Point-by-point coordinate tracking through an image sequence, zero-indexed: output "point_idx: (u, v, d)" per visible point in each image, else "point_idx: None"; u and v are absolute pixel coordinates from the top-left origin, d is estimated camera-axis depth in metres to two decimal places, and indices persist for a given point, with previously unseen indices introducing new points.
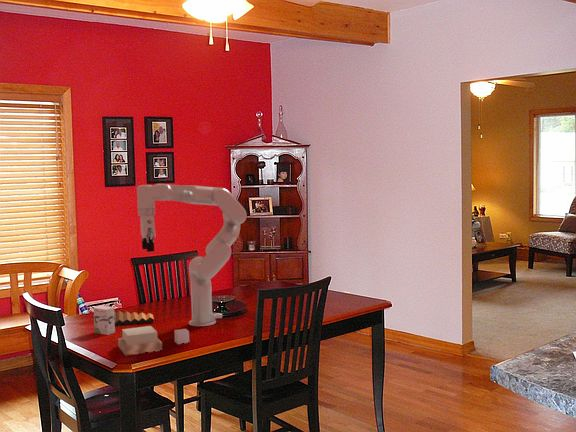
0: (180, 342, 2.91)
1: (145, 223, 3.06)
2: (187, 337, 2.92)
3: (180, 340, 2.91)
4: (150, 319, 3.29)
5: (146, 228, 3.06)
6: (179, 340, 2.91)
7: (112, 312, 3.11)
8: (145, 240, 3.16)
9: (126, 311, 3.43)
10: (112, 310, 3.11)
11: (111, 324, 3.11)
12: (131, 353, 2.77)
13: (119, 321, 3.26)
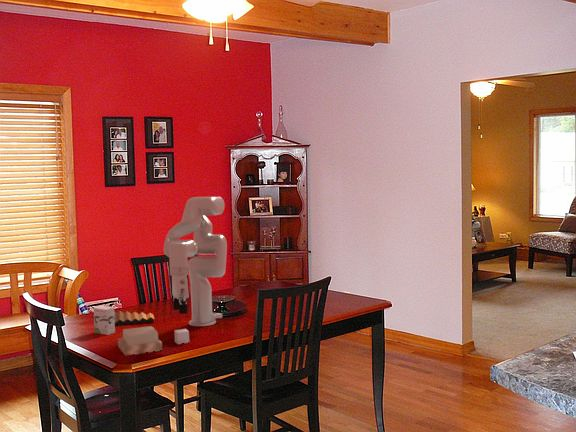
0: (180, 342, 2.91)
1: (178, 283, 2.86)
2: (187, 337, 2.92)
3: (180, 340, 2.91)
4: (150, 319, 3.29)
5: (179, 289, 2.86)
6: (179, 340, 2.91)
7: (112, 312, 3.11)
8: (177, 300, 2.96)
9: (126, 311, 3.43)
10: (112, 310, 3.11)
11: (111, 324, 3.11)
12: (131, 353, 2.77)
13: (120, 321, 3.26)
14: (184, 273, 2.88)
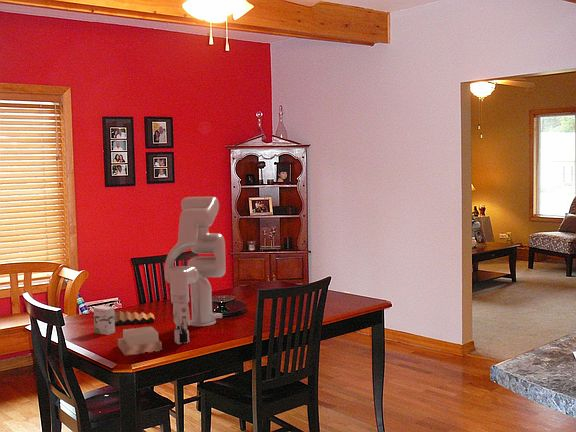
0: None
1: (179, 311, 2.88)
2: (187, 337, 2.92)
3: None
4: (151, 319, 3.30)
5: (180, 317, 2.88)
6: (179, 340, 2.91)
7: (112, 312, 3.11)
8: None
9: (127, 311, 3.44)
10: (112, 310, 3.11)
11: (111, 324, 3.11)
12: (131, 354, 2.77)
13: (120, 321, 3.26)
14: (185, 301, 2.89)
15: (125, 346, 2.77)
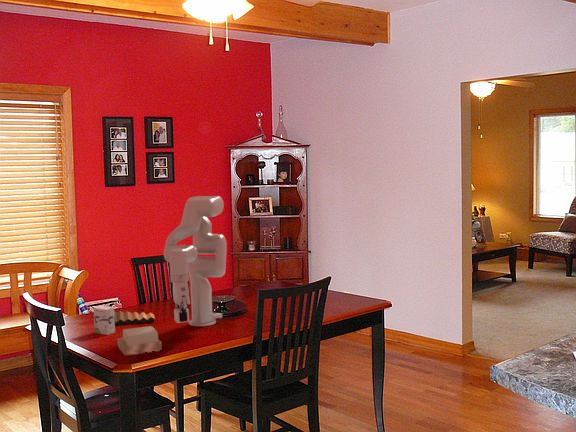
0: None
1: (179, 290, 2.87)
2: (187, 316, 2.92)
3: None
4: (151, 319, 3.30)
5: (180, 296, 2.87)
6: (179, 319, 2.91)
7: (112, 312, 3.11)
8: None
9: (127, 311, 3.44)
10: (112, 310, 3.11)
11: (111, 324, 3.11)
12: (130, 353, 2.77)
13: (120, 321, 3.26)
14: (185, 280, 2.89)
15: (125, 346, 2.77)
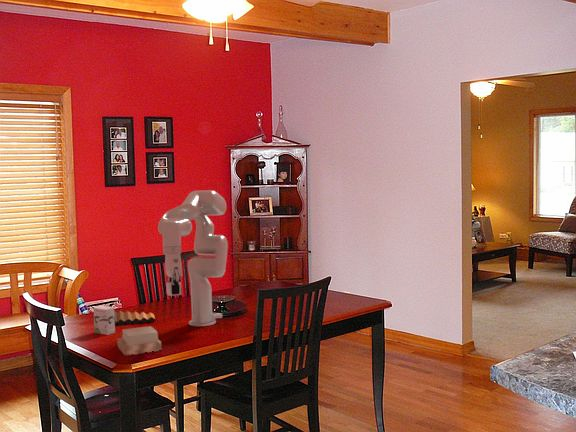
0: (172, 294, 2.88)
1: (171, 262, 2.85)
2: None
3: None
4: (151, 318, 3.30)
5: (172, 267, 2.84)
6: (171, 291, 2.87)
7: (112, 312, 3.11)
8: (171, 281, 2.92)
9: (127, 311, 3.44)
10: (112, 310, 3.11)
11: (111, 324, 3.11)
12: (130, 353, 2.77)
13: (120, 321, 3.26)
14: (177, 252, 2.87)
15: (125, 346, 2.77)
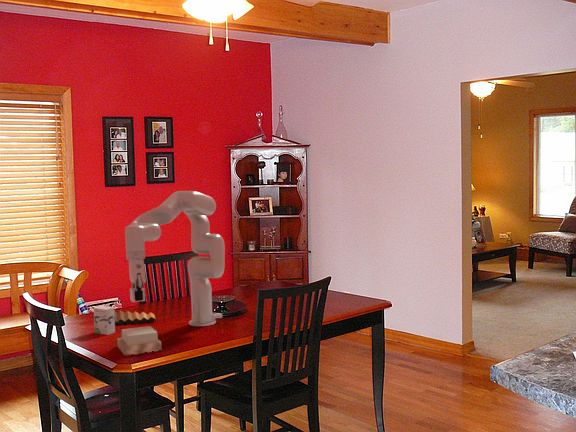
0: None
1: (134, 268, 2.78)
2: (143, 295, 2.82)
3: None
4: (151, 318, 3.30)
5: (135, 273, 2.78)
6: (134, 297, 2.81)
7: (112, 312, 3.11)
8: None
9: (127, 311, 3.44)
10: (112, 310, 3.11)
11: (111, 324, 3.11)
12: (130, 353, 2.77)
13: (121, 320, 3.27)
14: (141, 257, 2.80)
15: (125, 345, 2.77)
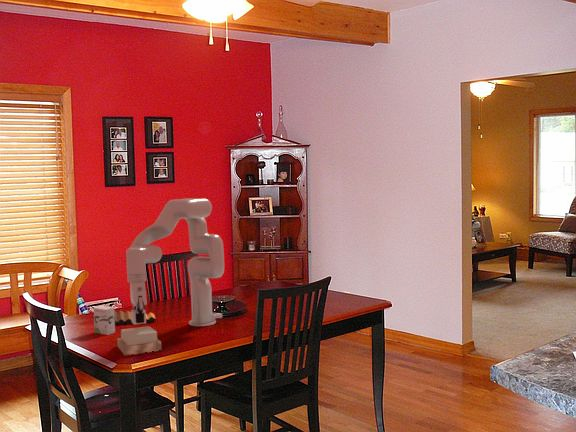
0: None
1: (135, 290, 2.79)
2: (144, 317, 2.83)
3: None
4: (152, 318, 3.30)
5: (136, 296, 2.79)
6: None
7: (112, 312, 3.11)
8: None
9: (127, 311, 3.44)
10: (112, 310, 3.11)
11: (111, 324, 3.11)
12: (130, 353, 2.77)
13: (121, 320, 3.27)
14: (142, 280, 2.81)
15: (125, 346, 2.77)
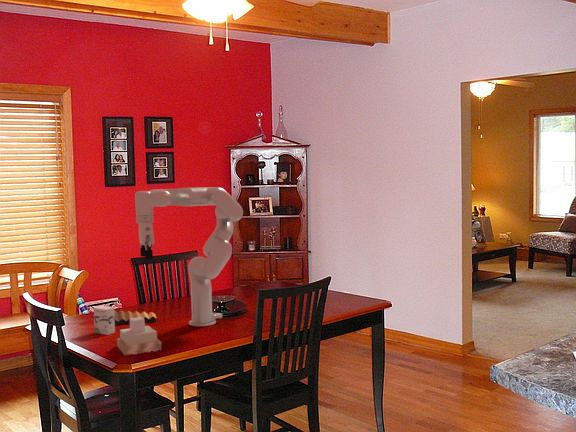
0: (135, 330, 2.82)
1: (143, 230, 3.00)
2: (143, 325, 2.83)
3: (135, 329, 2.82)
4: (153, 318, 3.31)
5: (144, 235, 3.00)
6: (135, 328, 2.82)
7: (112, 312, 3.11)
8: (143, 247, 3.10)
9: None
10: (112, 310, 3.11)
11: (111, 324, 3.11)
12: (130, 353, 2.77)
13: (122, 320, 3.27)
14: (149, 220, 3.02)
15: (125, 345, 2.77)
